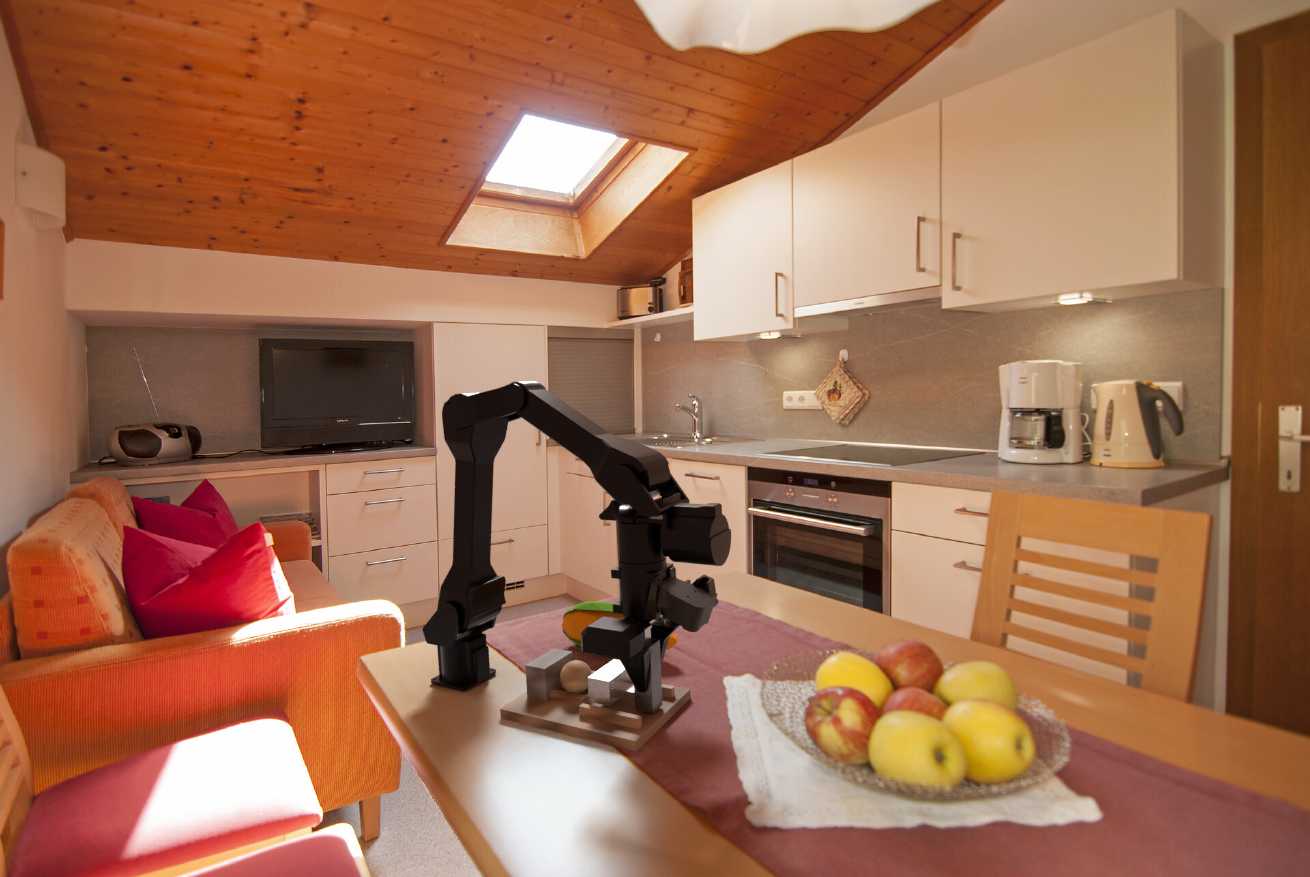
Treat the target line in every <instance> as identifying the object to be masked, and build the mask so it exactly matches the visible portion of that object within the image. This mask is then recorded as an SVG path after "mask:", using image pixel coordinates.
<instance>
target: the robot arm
mask: <svg viewBox="0 0 1310 877" xmlns="http://www.w3.org/2000/svg"><path fill="white" fill-rule="evenodd" d="M441 419H442V420H441V421H442V428H443V429H442V430H443V439H444V442H445V443H446V446H447V448H448V449H449V450H450V453H451V455H452V456H453V458H454V462H455V464H454V497H453V498H454V501H453V502H454V503H453V533H452V534H453V535H452V536H453V538H452V540H453V541H452V542H453V543H452V563H451V567H449V570H448V572H447V574H446V576H445V578H444V579H443V581H442V584H441V585H440V589H439V595H438V601H437V608H436V611H435V612H434V613H433V615H432V616H431V617H430V618H429V619H428V621H427V622H426V624H424V626H423V627H422V633H423V636H424V638H425V642H426V644H429V645H433V646H437V648H436V649H437V650H436V651H437V661H438V662H437V663H438V664H437V665H438V675H436V676H434V677H433V678H431V679H430V683H431V684H433V685H437V686H442V687H446V688H450V689H456V690H459V691H463V692H464V691H467V690H470V689H471V688H473V687H475V686H476V685H479V684H480V683H482V682H483V681H485V680H487V679H489V678H490V677H492V676H494V675H496V674H497V669H496V668H493V667H491V666H490V650H489V645H488V643H487V633H485V631H487V630H490V629H493V628H495V626H496V625H495V624H496V621H497V616H498V615H500V613H501V612H502V608H503V605H506V604H507V600H506V596H505V588H506V583H507V580H506V577H505V576H504V575H498V574H497V572H496V571H495V569H494V567H493V565H492V564H491V563H492V562H491V552H492V526H493V524H492V522H493V520H492V519H493V496H494V495H493V493H494V492H493V490H494V468H495V466H494V464H495V459H496V457H497V455H498V453H499V452H500V450H501V448H502V446H503V444H504V443H505V440H506V437H507V431H508V426H509V423H510V422H513V421H516V420H519V419H523V420H524V421H525V422H528V424H530V425H531V426H532V427H534V428H536V429H537V430H538V431H540V432H541V433H543V435H545V436H547V437H548V438H550V439H551V440H552V441H554V442H555V443H556V444H557V445H559V446H561V447H562V448H564V449H565V450H566V451H568V452H569V453H571V455H573V456H574V457H576V458H578V459H579V460H580V461H581V462H583V463H584V464H585V466H587V467H588V468H589V470H590V471H591V473H592V476H593V478H594V480H595V483H597V484H598V485H599V486H600V487H601V488H602V489H603V491H605V492H606V493H607V494H608V495H609V496H610V497H611V498H612V500H610V502H609V504H608V505H607V507H606V508H605V509H604V510H602V511H601V513H599V514H598V518H599V520H601V521H615V529H616V530H615V532H616V550H617V551H616V552H617V553H616V554H617V556H616V557H617V566H616V567H614V568H612V569H610V578H611V579H616V580H618V595H619V599H618V600H617V601H615V602H613V603H614V604H613V613H620V614H623V617H625V618H623V619H617V618H610V617H602V618H600V619H599V620H597V621H595V622H594V623H592V624H590V625H589V626H587V627H586V628H585V629H584V630H583V631H582V632H581V651H582V653H585V654H592V655H596V656H597V655H598V656H603V657H608V658H613V659H618V660H620V661H621V663H622V664H623V666H624V668H625V670H626V672H627V673H628V675H629V677H630V679H631V680H632V682H633V684H634V686H635V688H636V689H637V691H638V692H642V693H645V692H646V691H647V686H648V675H649V658H650V650H651V649H652V648H653V647H654V646H655V645H656V644H657V643H658V642H659V641H660V657H661V668H662V666H663V662H664V658H665V654H666V651H667V649H666V647H667V644H668V641H669V637H670V636H671V634H672V633H673V632H674V633H675V632H676V631H677V630H678V629H679V628H680V627H681V628H682V629H683V630H685V631H687V632H689V633H697V632H698V631H700V629H701V628H702V627H703V626H704V625H707V624H708V623H710V622H709V621H710V619H711V618H710V617H711V616H712V612H713V609H714V608H715V607H716V606H717V605H718V604H719V600H718V595H719V594H718V593H717V591H716V583H715V579H714V578H713V577H711V576H709V575H707V574H702V575H700V576H699V577H697V578H696V579H695V580H694V581H693V582H692V581H691V579H686V580H682V579H680V578H677V570H676V567H675V566H674V563H681V564H682V563H683V564H693V565H694V564H695V565H704V566H715V567H722V566H723V565H725V564H726V562H727V560H728V558H729V555H730V552H731V546H732V529H731V528H730V526H729V523H728V522H729V521H728V519H727V517H726V516H725V515H724V514H723V505H722V503H720V502H708V503H690V502H691V501H690V499H689V497H688V496H687V494H686V493H685V491H684V490H683V489H682V488H681V486H680V484H679V483H678V482H677V480H676V479H675V477H674V476H673V474H672V473H671V469H670V466H669V464H670V463H669V461H668V459H667V457H666V456H665V455H664V454H662V453H661V452H659V451H658V450H656V449H653V448H651V447H649V446H647V445H645V444H642V443H640V442H637V441H635V440H631V439H626V438H623V437H620V436H618V435H615V434H612V433H611V432H609V431H608V430H606V429H604V428H603V427H601V426H600V425H598V424H597V423H596V422H594V421H593V420H591V419H590V418H588V417H587V416H585V415H584V414H582V412H580V411H578V410H577V409H575V408H574V407H572V406H571V405H570V404H569V403H568V404H567V403H566V402H565V401H563V400H562V399H560V398H559V397H557V396H556V395H555V394H553V393H552V392H550V391H549V390H547V388H546V387H545V386H544V385H543V383H542V384H541V383H540V382H539V381H536V380H534V381H533V380H530V381H529V380H528V381H527V380H526V381H512V382H510V383H508V384H505V385H504V386H500V387H497V388H494V389H490V390H486V391H482V392H464V393H463V392H462V393H455V394H453V395H451V396H450V397H449V398H448V399H447V400H446V401H445V402H444V403H443V405H442V410H441ZM658 496H660V497H658ZM655 497H658V498H655ZM654 498H655V499H654ZM667 558H669V560H670V561H671V562H674V563H670V562H668V561H667ZM691 582H692V583H691Z"/></svg>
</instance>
